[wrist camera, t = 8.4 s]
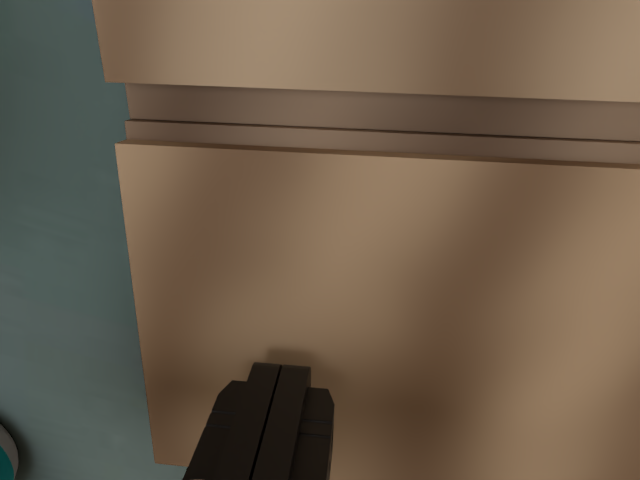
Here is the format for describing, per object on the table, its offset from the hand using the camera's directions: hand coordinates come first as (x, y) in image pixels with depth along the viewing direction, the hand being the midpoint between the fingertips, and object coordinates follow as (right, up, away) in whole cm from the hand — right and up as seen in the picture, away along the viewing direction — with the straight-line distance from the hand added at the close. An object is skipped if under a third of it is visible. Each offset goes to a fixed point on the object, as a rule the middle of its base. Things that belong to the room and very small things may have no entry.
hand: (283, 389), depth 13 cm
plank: (+5, +2, +1) cm, 5 cm away
